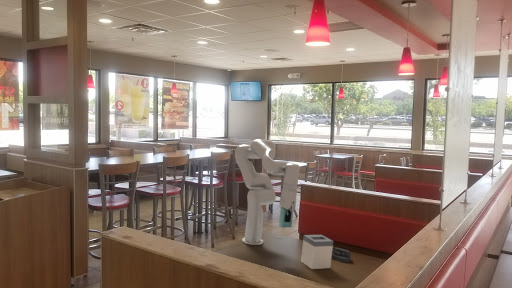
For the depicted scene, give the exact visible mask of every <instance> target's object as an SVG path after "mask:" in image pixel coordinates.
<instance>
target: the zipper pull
mask: <svg viewBox="0 0 512 288" xmlns="http://www.w3.org/2000/svg"><path fill="white" fill-rule="evenodd" d="M351 254H352V253H351V252H350V251H349V250H348V249H344V248H339V247H335V246H333V248H332V257H331V260H336V261H338V262H340V263H350V262H351V260H352V255H351Z"/></svg>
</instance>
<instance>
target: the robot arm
mask: <svg viewBox="0 0 512 288" xmlns="http://www.w3.org/2000/svg"><path fill="white" fill-rule="evenodd" d="M275 157H276V152H275V144H274V142H273V141H272V140H270V139H260V138H257V139H254V140H253V141H252V142H251V143H250V144H240V145H237V147H236V148H235V152H234V158H235V162H236V164H237V166H238V167H239V170H240V172H241V175H242V179H243V182H244V185H245V187H246V188H248V189H250V190H249V191H248V192H247V196H246V197H247V211H246V212H247V213H246V223H245V232H244V237H243V238H241V242H242V243H244V244H247V245H252V246H260V245H262V244H263V243H264V240H263V239H262V233H263V232H262V231H263V222H264V221H263V220H264V210H263V207H262V206H266V205H268V206H269V205H272V204H274V203H275V202H276V197H277V196H276V192H275V188H274V186H273V184H272V181H271V179H270V176H269V175H268V174H266V173H265V172H257V171H256V169H255V166H254V164H253V162H252V161H250V160H259V159H260V160H261V164H262V167H263V169H264V170H265V171H266V172H268V173H269V174H271V175H272V176H273V175H274V176H283V184H282V189H281V193H280V198H279V206H280V207H283V208H285V209H287V213H286V214H287V215H285V222H291V215H292V213H293V214H294V213H295V209H296V205H297V190H298V183H299V176H300V165H299V164H297V163H292V162H290V161H286V160H285V161H284V160H274V159H275ZM290 208H291V209H290ZM289 210H290V211H289Z"/></svg>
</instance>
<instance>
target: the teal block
mask: <svg viewBox="0 0 512 288" xmlns="http://www.w3.org/2000/svg"><path fill="white" fill-rule="evenodd" d="M280 207H281V206H280ZM290 209H291V208H290ZM289 211H290V210H289ZM286 213H287V209H285V208H283V207H281V208H280V213H279V222H278V227H280V228H292V226H293V225H292V224H293V218H294V212H293V213H292V215H291V222H285V215H287V214H286Z"/></svg>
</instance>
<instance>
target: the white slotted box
mask: <svg viewBox="0 0 512 288" xmlns="http://www.w3.org/2000/svg"><path fill="white" fill-rule="evenodd" d="M301 246H302V247H301V249H302V250H301V257H300V262H301V263H303V264H304V265H305V266H306V267H308V268H310V269H311V270H319V269H331V265H332V258H331V257H332V248H333V247H334V240H332V239H330V238H328V237H326V236H325V235H323V234H304V235H303V239H302V245H301Z"/></svg>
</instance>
